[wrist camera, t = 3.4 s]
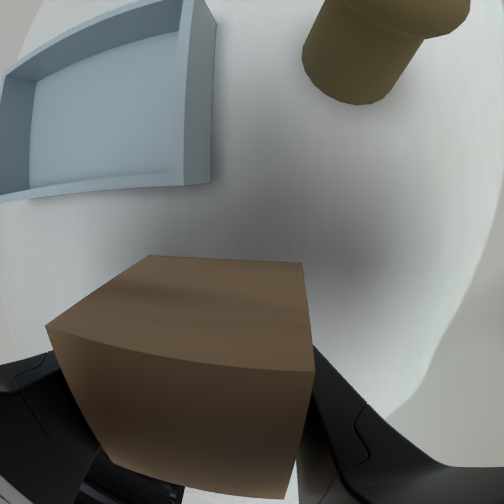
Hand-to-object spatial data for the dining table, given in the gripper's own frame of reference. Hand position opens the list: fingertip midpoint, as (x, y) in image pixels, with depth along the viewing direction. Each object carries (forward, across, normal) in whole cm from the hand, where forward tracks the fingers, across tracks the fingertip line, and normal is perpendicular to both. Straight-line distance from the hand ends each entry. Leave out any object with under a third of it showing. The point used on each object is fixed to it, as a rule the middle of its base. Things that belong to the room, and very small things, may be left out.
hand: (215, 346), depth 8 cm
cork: (+10, -6, -13) cm, 17 cm away
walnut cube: (+1, 0, 0) cm, 1 cm away
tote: (+9, +11, -10) cm, 18 cm away
